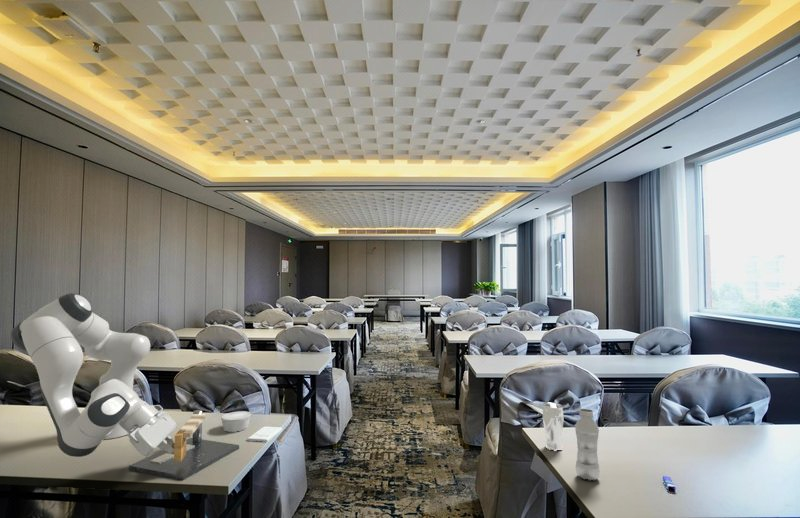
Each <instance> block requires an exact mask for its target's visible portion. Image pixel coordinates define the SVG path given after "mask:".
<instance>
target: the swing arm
mask: <svg viewBox="0 0 800 518" xmlns="http://www.w3.org/2000/svg"><path fill="white" fill-rule="evenodd" d="M205 418H206V413H202V414H193V413H192V415H191V416H190V418H189V419H187V421H186V422H185V423H184V424H183V425H182V427H181V428H180V429H179V430H178V431H177V432H176V434H175V435H174V443H175V444H174V462H180V461H182V459H183V458H184V457H185V455H186V440H187V439H189V438H192V436H193V433H194V432H195V430H196V429H197V428H198V427H199V425H200V424H201V423H202V424H203V421H204V420H205Z"/></svg>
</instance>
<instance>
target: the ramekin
mask: <svg viewBox="0 0 800 518" xmlns="http://www.w3.org/2000/svg"><path fill="white" fill-rule="evenodd" d="M251 416H252V414H251V412H249V411H244V410H243V411H242V410H241V411H239V410H238V411H232V412H228V413H226V414H225V413H224V414H223V415H222V416H221V422H222V423H221V424H222V429H223V430H224V432H226V431H227V432H226V433H238V432H237V431H239V432H242V430H243V431H245V430H246V429H248V427H249V426H250V422H251V420H250V419H251ZM244 429H245V430H244Z"/></svg>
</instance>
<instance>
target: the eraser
mask: <svg viewBox="0 0 800 518" xmlns="http://www.w3.org/2000/svg"><path fill="white" fill-rule="evenodd" d="M663 481H664V482H663ZM662 482H663V484H664V483H665V484H664V486H665V485H666V486H665V488H666V487H667V488H666V490H667V489H668V490H669V487H671V488H672V487H673V488H672V490H673V489H674V490H673V492H674V491H675V492H676V486H675V483H674V482H673V480H672V478H671V476H667V475H663V476H662Z"/></svg>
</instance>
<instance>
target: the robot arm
mask: <svg viewBox="0 0 800 518" xmlns="http://www.w3.org/2000/svg"><path fill="white" fill-rule="evenodd" d="M58 297H59V296H58ZM10 340H11V341H12V343H13V344H14V345H15V347H17V349H20V350H22V351H24V352H27V354H28V356H29V358H30V359H31V361H32V363H33V364H34V365H33V366H35V370H36V372H37V374H38V375H37V376H38V378H39V384H40V387H39V388H40V392H41V395H42V396H41V397H42V398H43V401H44V403H45V407H46V409H47V411H48V413H49V416H50V418H51V420H52V422H53V424H54V427H55V430H56V435H57V437H56V439H57V440H56V441H57V445H58V448H59V449H60V451H61V452H62V453H64V454H65V455H68V456H70V457H73V458H74V457H77V458H79V457H80V458H82V457H86V456H89V455H90V454H92V453H94V452H95V450H96V449H97V448H98V447H99V446H100V444H101V443H102V441H103V440H109V439H115V438H121V437H124V436H126V435H128V439H129V443H130V444H131V445H132V447H133V448H135V450H136V451H137V452H138V453H140V455H141V456H143V457H149V456H150V454H151V453H153V452H154V450H155V449H157V447H158V448H159V449H160V450H161V451H162V450H165V451H167V452H168V453H169V454H171V453H172V452H173V451H174V444H175V441H174V440H173V438H172V436H171V435H170V434H171V433H172V432H174V430H175V429H177V427H178V425H177V422H176V421H175V420H174V419H173V418H172V417H171V416H170V415H169V413H167V412H166V411H163V410H164V408H163V406H161V404H156V405H155V404H154V405H152V404H149V403H148V402H146V401H145V400H143V399H141V398H140V396H139V394H138V393H137V392H136V391H135V390H134V380H135V379H134V377H135V373H136V370H137V367H138V366H139V364H140V363H141V362H142V360H143V359H145V358H146V357H147V356H148V354H149V353H150V350H151V341H150V339H149V338H148V336H146V335H142V334H140V333H135V332H118V331H114V330H111V329H110V324H109V322H108V321H107V320H106V319H104V318H102V317H100V316H99V315H97V314H96V313H95V312H93V306H92V305H91V303H90V302H89V301H88V299H87V298H86V297H84V296H82V295H80V294H78V293H72V292H71V293H65V294H64V295H61V296H60V297H59V298H57V299H56V300H54V301H51V302H50V303H48V304H46V305H44V306H42V307H40V308H39V309H38V310H37V311H35V312H33V314H31V315H30V316H28V317H27V318H26V319H24V320H23V321H21V322H19V323H18V324H17V325H16V326H14V327H13V329H12V330H11V332H10ZM82 347H83V348H84V353H85V354H86V356H88V357H89V358H92V359H95V360H98V361H108V362H109V361H110V366H109V368H108V370H107V372H105V373H103V374H102V375H101V376H100V378H99V382H98V383H99V384H98V386H96V387H95V388H94V389H93V390H92V391H91V393H90V399H89V400H88V403H87V405H86V406H85V407H84V409H83V411H81V412H80V411H79V408H78V405H77V403H76V401H75V399H74V397H73V387H74V384H75V383H74V382H75V380H76V377H77V376H78V373H79V371H80V369H81V367H82V365H83V362H84V353H83V349H82Z"/></svg>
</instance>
